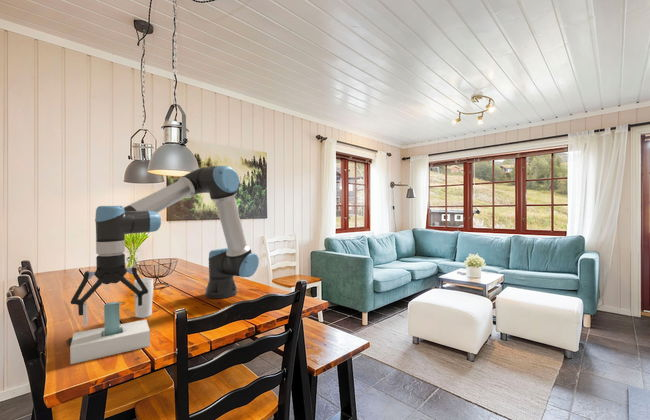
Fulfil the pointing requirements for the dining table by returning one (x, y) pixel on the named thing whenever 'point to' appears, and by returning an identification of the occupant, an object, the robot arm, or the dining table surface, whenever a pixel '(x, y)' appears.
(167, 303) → the dining table surface
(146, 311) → the drinking glass
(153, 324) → the dining table surface
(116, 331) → the teal peg
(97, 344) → the socket block
